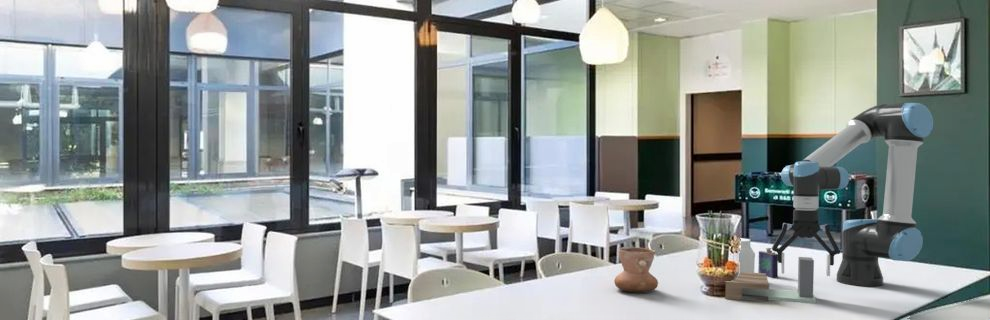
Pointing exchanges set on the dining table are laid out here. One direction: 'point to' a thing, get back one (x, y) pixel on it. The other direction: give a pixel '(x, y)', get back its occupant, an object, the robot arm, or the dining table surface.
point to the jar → (746, 256)
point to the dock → (746, 286)
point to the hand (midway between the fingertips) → (805, 274)
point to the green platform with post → (786, 295)
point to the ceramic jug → (636, 270)
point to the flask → (768, 263)
